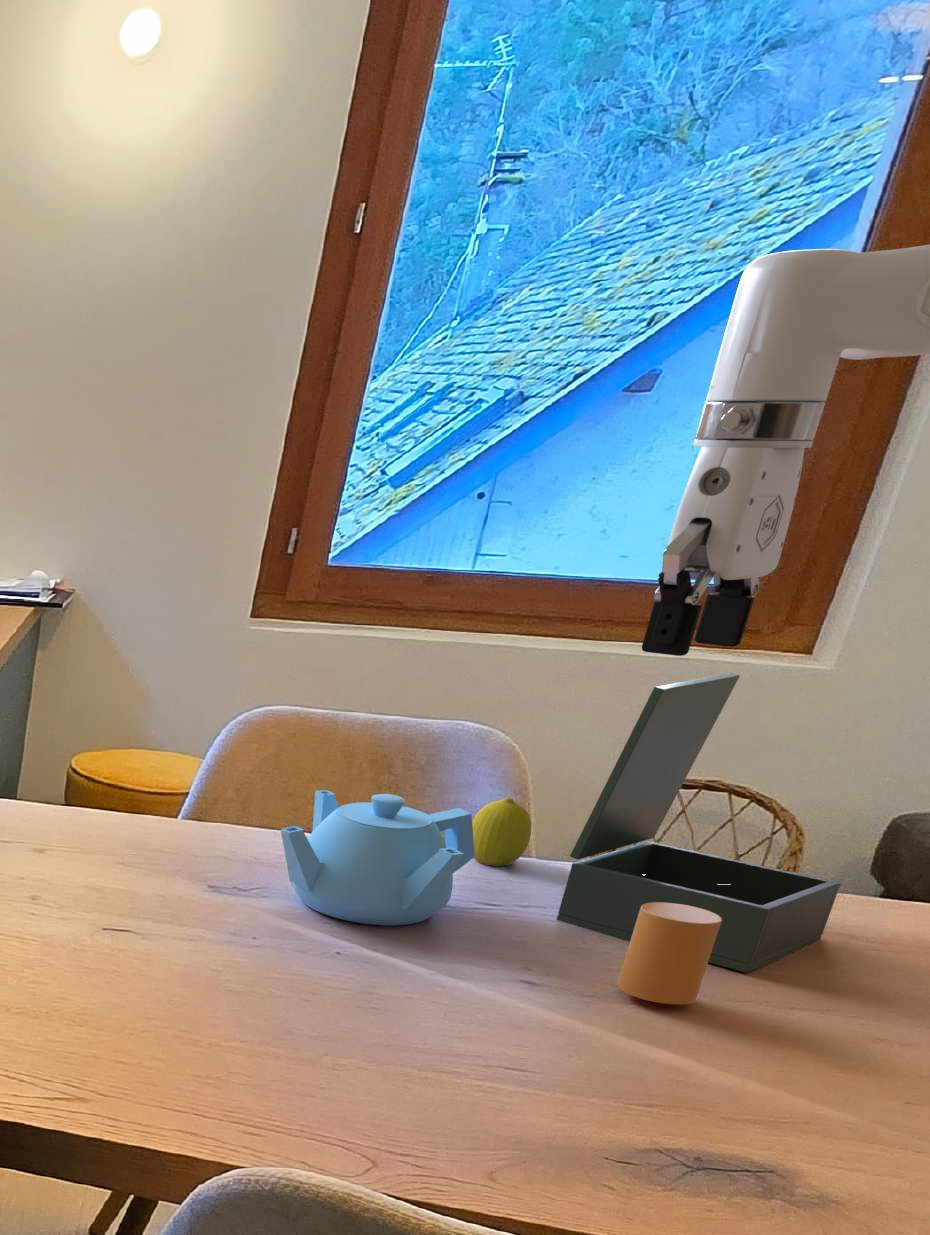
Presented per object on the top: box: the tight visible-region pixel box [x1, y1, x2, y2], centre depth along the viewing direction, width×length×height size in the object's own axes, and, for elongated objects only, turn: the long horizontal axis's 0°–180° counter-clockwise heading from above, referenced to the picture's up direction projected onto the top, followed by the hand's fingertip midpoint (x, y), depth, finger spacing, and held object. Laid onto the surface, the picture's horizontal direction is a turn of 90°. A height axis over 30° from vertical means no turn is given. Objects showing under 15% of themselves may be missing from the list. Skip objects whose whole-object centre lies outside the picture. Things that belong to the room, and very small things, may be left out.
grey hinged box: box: [556, 840, 842, 974], centre depth 130 cm, size 16×15×6 cm
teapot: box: [280, 789, 475, 926], centre depth 135 cm, size 15×15×11 cm
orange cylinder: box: [616, 902, 722, 1005], centre depth 116 cm, size 5×5×7 cm
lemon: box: [472, 796, 532, 867], centre depth 147 cm, size 6×6×8 cm
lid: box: [569, 672, 741, 861], centre depth 131 cm, size 16×15×1 cm
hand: (690, 648), depth 118 cm, fingers open, 9 cm apart
